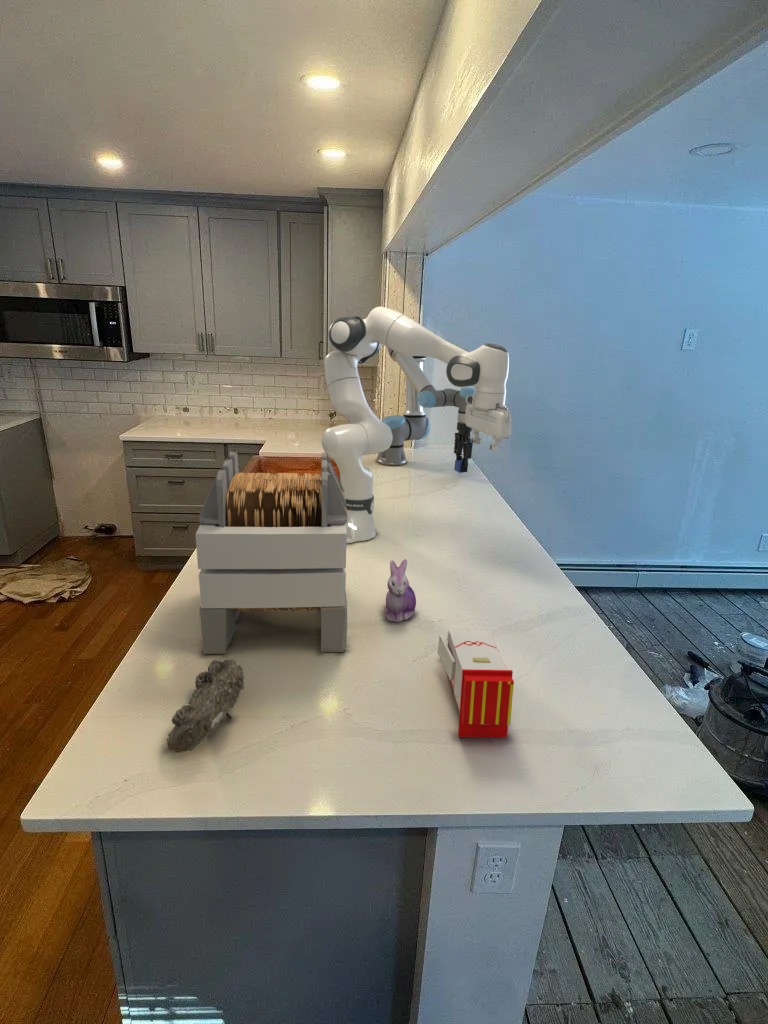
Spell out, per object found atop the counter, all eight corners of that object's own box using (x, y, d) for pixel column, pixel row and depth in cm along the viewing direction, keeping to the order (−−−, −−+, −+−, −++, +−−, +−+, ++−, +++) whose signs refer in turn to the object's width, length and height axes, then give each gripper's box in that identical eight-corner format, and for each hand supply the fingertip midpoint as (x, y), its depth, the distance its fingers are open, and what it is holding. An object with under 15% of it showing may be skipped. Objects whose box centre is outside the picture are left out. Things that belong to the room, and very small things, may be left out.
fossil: (192, 660, 117) (244, 628, 112) (224, 691, 120) (276, 661, 115) (142, 746, 98) (202, 712, 93) (182, 779, 101) (242, 748, 96)
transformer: (223, 585, 158) (215, 442, 144) (341, 584, 161) (344, 444, 148) (200, 656, 126) (186, 481, 112) (347, 652, 130) (351, 482, 116)
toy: (488, 613, 130) (523, 677, 101) (484, 667, 133) (517, 744, 104) (435, 612, 130) (455, 676, 101) (432, 666, 133) (451, 743, 103)
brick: (467, 472, 269) (468, 462, 267) (458, 472, 267) (459, 462, 266) (462, 469, 273) (463, 459, 271) (454, 470, 271) (455, 460, 269)
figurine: (392, 627, 141) (395, 572, 136) (374, 608, 149) (376, 556, 144) (425, 619, 145) (429, 566, 140) (405, 601, 154) (408, 550, 149)
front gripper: (519, 407, 160) (513, 454, 164) (480, 396, 177) (476, 439, 182) (500, 407, 157) (494, 456, 162) (463, 396, 175) (459, 440, 180)
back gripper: (482, 425, 256) (477, 475, 264) (462, 418, 271) (458, 465, 279) (468, 426, 253) (463, 476, 261) (449, 418, 268) (445, 466, 276)
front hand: (484, 447), depth 172 cm, fingers open, 8 cm apart
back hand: (460, 470), depth 270 cm, fingers closed on brick, 4 cm apart
